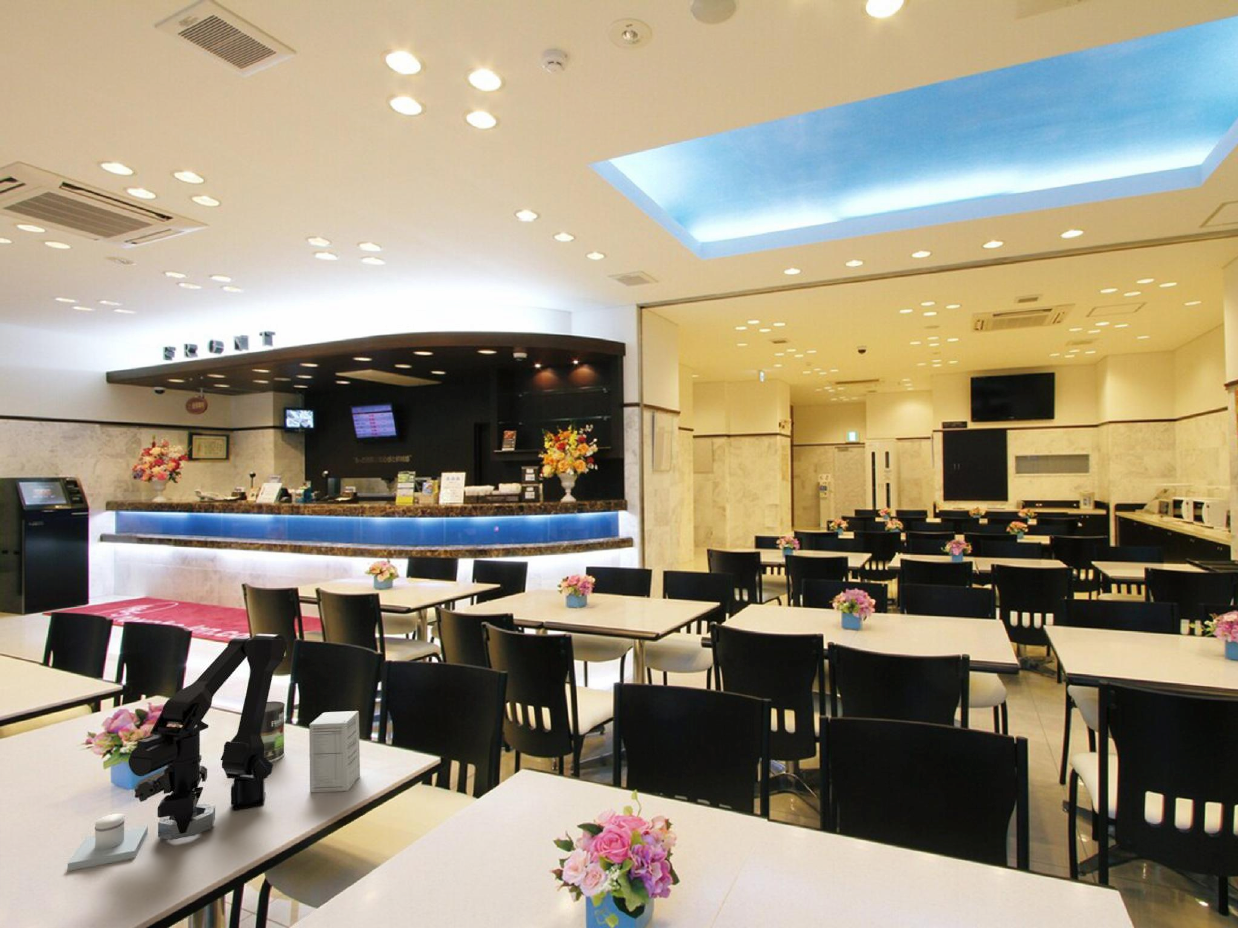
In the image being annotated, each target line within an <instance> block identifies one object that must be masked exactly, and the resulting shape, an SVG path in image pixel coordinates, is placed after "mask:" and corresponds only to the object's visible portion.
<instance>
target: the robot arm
mask: <svg viewBox="0 0 1238 928" xmlns="http://www.w3.org/2000/svg"><path fill="white" fill-rule="evenodd" d="M287 648H288V640H286V638H285V636H284V635H282V634H272V633H271V634H270V633H256V634H255V635H254V636H253V637H234V638H232V639H230V640H229V641H228V643H227V645H226V647H225V648H224V649H223V650H222V651H221V652H220V654H219V655H218V656H217V657H216V658H215V659H214V660H213V662H211V664H210V665H209V666H208V667H207V668H206V669H205V670H204V671H203V673H201V674H200V676H199V677H198V678H197V679H196V680H194V682H192V683H191V684H189V685H188V686H186V687H184V688H182V689H180V690H178V691H177V692H176V693H175V694H174V695H172V696H171V697H169V699H167V701H166V702H165V703H164V705H163V707H162V710H161V712H160V714H159V716H158V718H156V722H155V723H154V725H153V727H152V728H151V731H150V733H149V734H150V737H147V738H143V739H140V740H138V741H137V742H136V743H137V744H136V748H134V749H133V750H131V753H130V756H129V757H128V767H129V769H130V771H131V773H133V774H134V775H135V776H137V777H144V776H146V777H144V778H142V779H140V780H139V781H137V783H136V785H135V786H134V789H133V790H134V792H135V794H134V798H136V799H137V798H138V800H139V802H140V803H143V802H145V801H147V800H148V799H149V798H151V797H153V796H156V795H157V794H159V793H161V792H163V795H165V794H168V795H165V796H164V797H163V798H162V800H160V802H159V804H158V806H157V818H159V819H160V818H161V817H167V816H173V815H174V818H175V821H176V824H177V827H178V830H179V833H180V834H182V833H186V831H187V828H188V826H189V823H190V820H191V818H192V815H193V813H194V810H195V808H196V805H197V804H199V803H198V802H199V800H200V798H201V796H202V793H203V790H204V787H203V786H199V785H200V783H201V782H202V783H203V782H206V781H207V779H208V768H207V767H205V766H204V765H200V763H201V761H202V754H200V753H201V737H200V736H201V731H204V730H206V729H208V728H209V724H207V723H205V722H204V721H202V720H203V719H204V717H206V715H207V713H208V712H209V710H210V709H211V707H212V704H213V697H214V696H215V694H216V693H217V692H218V691H219V689H220V688H222V686H223V685H224V684H225V683H226V681H227V680H228V679H229V678H230V677H231V676H232V675H233V673H234V672H235V671H236V670H237V668H238V667H239V666H240V665H241V664H242V663H243V662H244V661H245V659H246V660H247V663H248V666H249V669H250V674H249V679H248V681H247V682H248V683H247V687H246V693H245V697H244V701H243V706H242V710H241V714H240V718H239V723H238V729H237V732H236V735H235V736H234V737H232V739H231V740H230V741H225V743H224V745H223V752H222V754H221V758H220V761H221V768H222V769H223V771H224V773H225V777H226V779H228V780H229V779H233V783H232V784H231V786H230V805H231V806H232V811H237V810H241V809H243V810H244V809H248V808H253V807H254V808H255V807H260V806H264V804H265V799H266V791H265V789H266V788H265V786H266V785H265V783H266V782H265V780H266V779H268V776H269V775H271V774H272V771H273V767H274V764H273V762H269V761H268V760H267V759H266V758H264V748H265V746H264V743H263V740H262V738H261V735H260V734H261V728H262V724H263V719H264V714H265V709H266V705H267V702H268V699H269V695H270V691H271V690H270V689H271V685H272V681H273V677H274V676H273V675H274V672H275V671H276V670H277V669H278V667H279V666H280V665H281V664H282V662H283V660H284V658H285V656H286V655H285V654H286V651H287ZM168 725H170V726H168ZM171 725H175V726H171ZM162 768H164V769H162ZM160 769H162V770H160ZM157 770H159V771H157ZM153 772H155V773H153ZM151 773H153V774H151ZM148 774H151V775H148ZM147 775H148V776H147Z"/></svg>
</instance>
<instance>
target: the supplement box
mask: <svg viewBox="0 0 1238 928" xmlns="http://www.w3.org/2000/svg"><path fill="white" fill-rule="evenodd" d="M308 727H309V728H308V729H309V731H308V732H309V793H326V792H327V793H328V792H330V793H331V792H334V793H335V792H348V791H349V790H350V789H351V787H352V786H353V784H354V783H355V782H356V781H357V780H358V779H359V778H360V776H361V765H360V764H361V761H360V757H361V756H360V755H361V753H360V750H361V749H360V712H359V711H358V710H354V711H353V710H349V711H329V712H328V711H326V712H322V713H321V714H320V715H319V716H318V717H316V718H315V719H314V720H313V721H312V722H310V723H309V726H308Z"/></svg>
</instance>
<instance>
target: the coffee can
mask: <svg viewBox="0 0 1238 928" xmlns="http://www.w3.org/2000/svg"><path fill="white" fill-rule="evenodd" d="M285 706H286V705H285V703H284V702H282V701H274V700H273V701H267V705H266V709H265V714H264V719H263V724H262V728H261V734H260V735H261V738H262V740H263V743H264V746H265V748H264V758H266V759H267V760H268V761H269V762H271V763H273V762H274V763H275V762H276V761H278V760H280V759H282V758H283V757H284V756H285Z"/></svg>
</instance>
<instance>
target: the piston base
mask: <svg viewBox="0 0 1238 928" xmlns="http://www.w3.org/2000/svg"><path fill="white" fill-rule="evenodd" d="M94 823H95V824H94V825H95V826H94V835H91V836H86V837H85V838H84V839H83V841H82V842H81V843H80V845H79V846H78V848H77V849H76V851H75V852H74V853H73V855H72V857H71V858H70V860H69V861H68V863H67V872H71V871H76V870H81V869H86V868H91V867H97V866H101V865H106V864H110V863H117V862H121V861H122V862H123V861H127V860H132V859H135V858H136V856H137V854H138V853H139V851H140V849H141V847H142V845H143V843H144V841H145V839H146V837H147V835H148V834H149V833H148V832H149V831H148V827H149V826H148V825H146V826H140V827H135V828H129V829H125V815H124V814H123V813H113V814H109V815H106V816H103V817H100V818H99V819H97V820H96V821H95V822H94Z"/></svg>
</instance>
